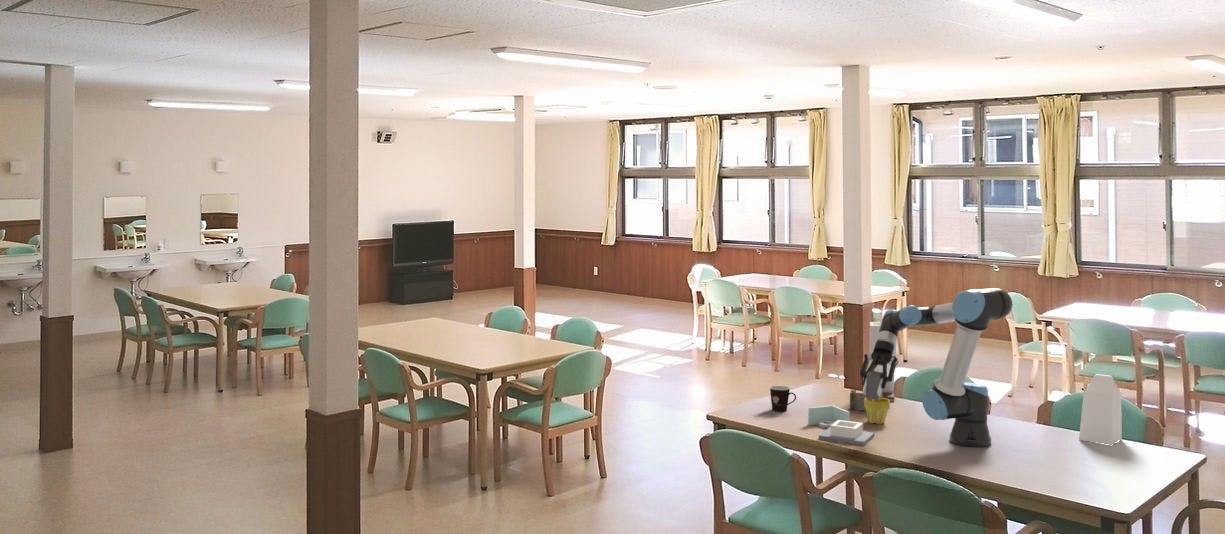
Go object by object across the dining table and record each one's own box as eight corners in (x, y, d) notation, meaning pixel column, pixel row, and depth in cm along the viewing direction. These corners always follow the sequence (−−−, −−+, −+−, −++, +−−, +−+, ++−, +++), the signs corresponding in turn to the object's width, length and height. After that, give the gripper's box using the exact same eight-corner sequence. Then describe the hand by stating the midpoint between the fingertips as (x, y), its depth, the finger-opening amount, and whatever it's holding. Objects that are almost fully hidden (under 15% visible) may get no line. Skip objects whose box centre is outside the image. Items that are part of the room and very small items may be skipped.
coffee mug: (765, 409, 423) (766, 386, 422) (781, 407, 427) (782, 385, 426) (780, 414, 413) (781, 392, 412) (797, 412, 417) (797, 390, 416)
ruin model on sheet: (849, 410, 422) (850, 389, 421) (849, 409, 425) (850, 387, 424) (876, 412, 419) (876, 391, 418) (876, 411, 422) (876, 389, 421)
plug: (882, 399, 379) (883, 372, 378) (878, 402, 375) (879, 375, 374) (869, 397, 382) (870, 370, 380) (865, 400, 378) (866, 373, 376)
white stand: (868, 400, 440) (870, 325, 437) (868, 395, 450) (870, 322, 447) (894, 401, 437) (896, 326, 434) (893, 396, 447) (895, 322, 444)
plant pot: (886, 419, 405) (887, 396, 404) (891, 425, 395) (892, 402, 394) (861, 418, 406) (862, 396, 406) (865, 425, 396) (866, 402, 395)
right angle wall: (808, 425, 397) (808, 407, 396) (832, 422, 401) (833, 405, 401) (824, 432, 386) (824, 414, 385) (849, 429, 390) (849, 412, 389)
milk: (1078, 440, 374) (1081, 375, 371) (1089, 434, 382) (1092, 370, 379) (1111, 446, 365) (1114, 379, 363) (1121, 440, 373) (1125, 375, 371)
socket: (874, 436, 379) (874, 422, 378) (864, 445, 366) (864, 431, 365) (830, 430, 388) (830, 417, 387) (818, 439, 375) (818, 425, 374)
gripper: (909, 352, 384) (895, 401, 373) (865, 347, 394) (850, 395, 382) (905, 342, 379) (892, 391, 368) (861, 337, 389) (846, 385, 377)
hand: (871, 393), depth 375 cm, fingers closed on plug, 5 cm apart
